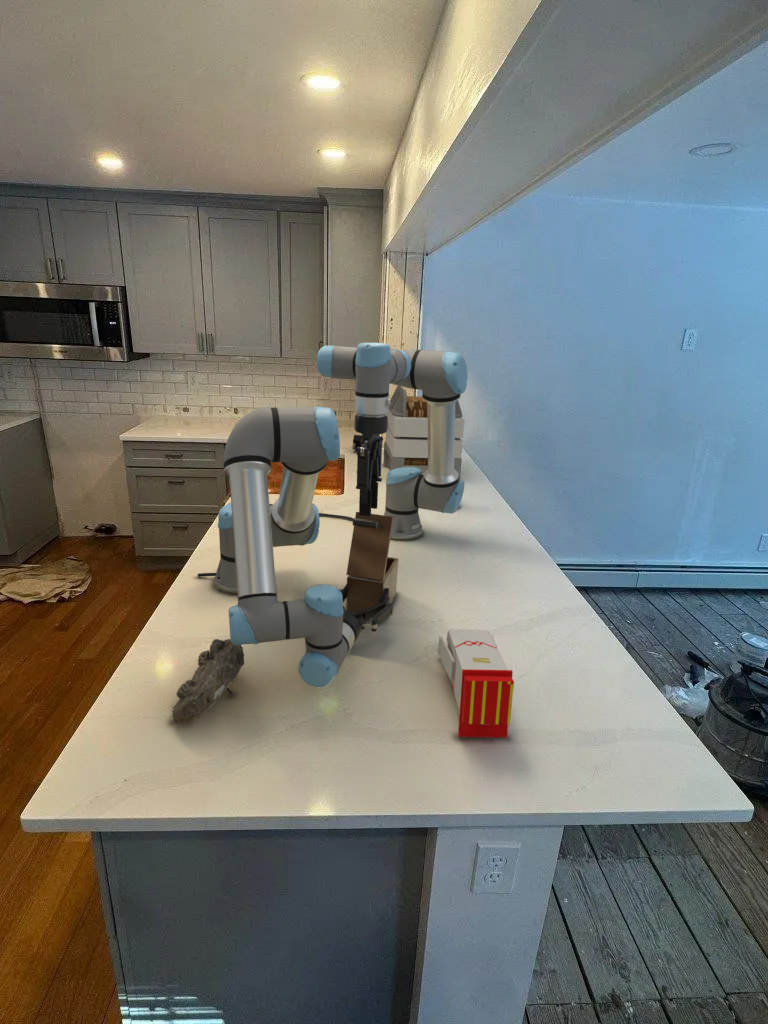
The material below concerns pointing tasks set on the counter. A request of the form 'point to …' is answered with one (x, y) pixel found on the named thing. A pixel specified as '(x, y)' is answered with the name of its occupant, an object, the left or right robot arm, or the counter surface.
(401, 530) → the right robot arm
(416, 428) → the white wooden crate
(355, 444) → the figurine character
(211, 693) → the fossil
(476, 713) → the toy
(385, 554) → the lid
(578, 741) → the counter surface
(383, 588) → the chest
